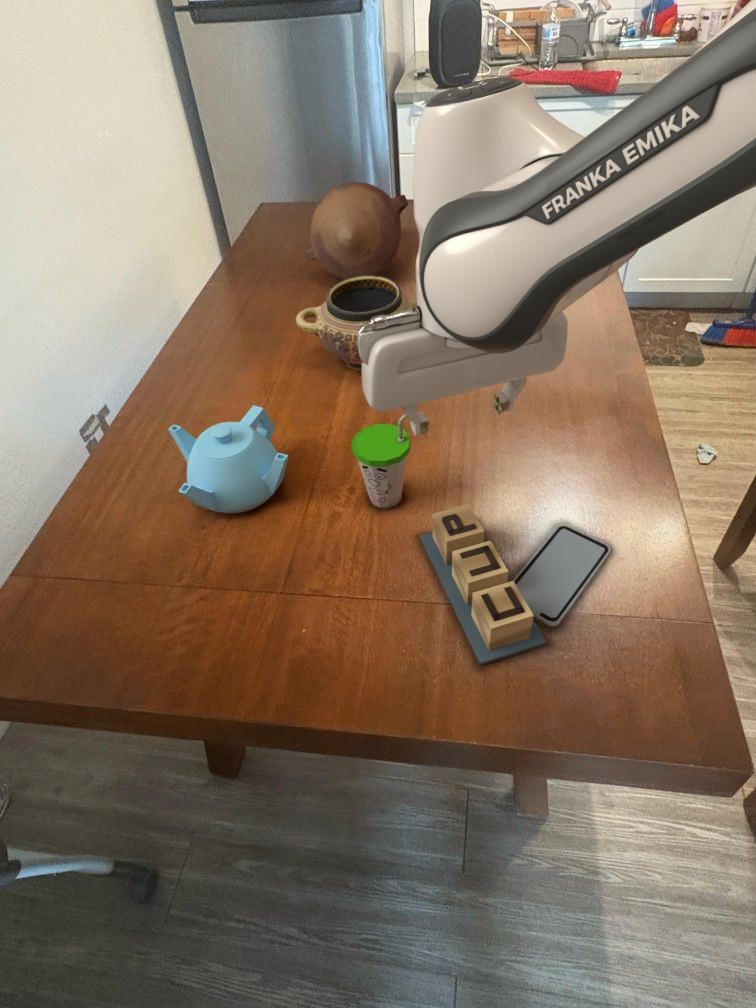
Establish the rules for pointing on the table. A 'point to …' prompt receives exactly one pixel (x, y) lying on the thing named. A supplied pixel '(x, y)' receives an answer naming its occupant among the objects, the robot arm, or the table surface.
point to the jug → (356, 230)
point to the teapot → (232, 463)
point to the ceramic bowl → (352, 313)
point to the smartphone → (560, 573)
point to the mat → (465, 612)
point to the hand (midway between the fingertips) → (461, 420)
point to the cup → (382, 461)
